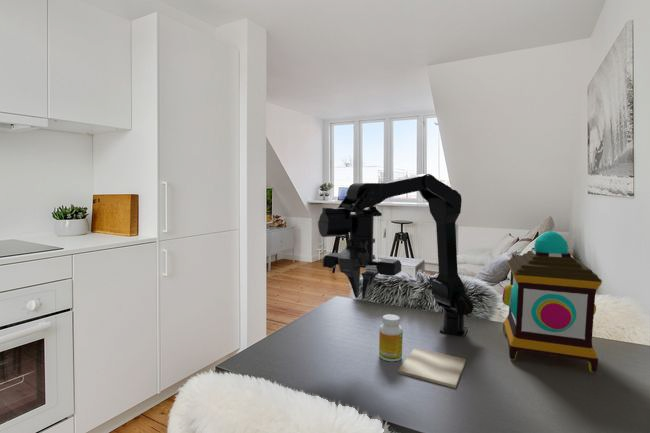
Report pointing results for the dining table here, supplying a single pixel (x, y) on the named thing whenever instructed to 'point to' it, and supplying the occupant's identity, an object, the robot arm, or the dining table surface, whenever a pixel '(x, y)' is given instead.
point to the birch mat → (433, 367)
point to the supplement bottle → (390, 338)
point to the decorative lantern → (551, 302)
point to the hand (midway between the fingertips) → (360, 298)
